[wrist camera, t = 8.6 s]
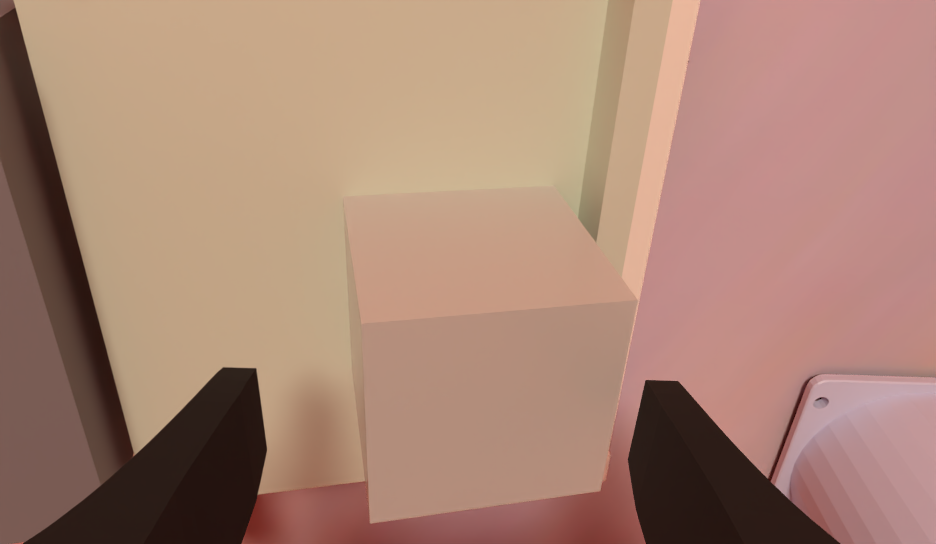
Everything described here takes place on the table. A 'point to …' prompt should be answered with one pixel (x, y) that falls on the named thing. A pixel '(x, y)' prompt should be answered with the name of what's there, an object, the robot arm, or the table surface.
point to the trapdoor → (263, 199)
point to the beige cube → (481, 348)
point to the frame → (658, 148)
